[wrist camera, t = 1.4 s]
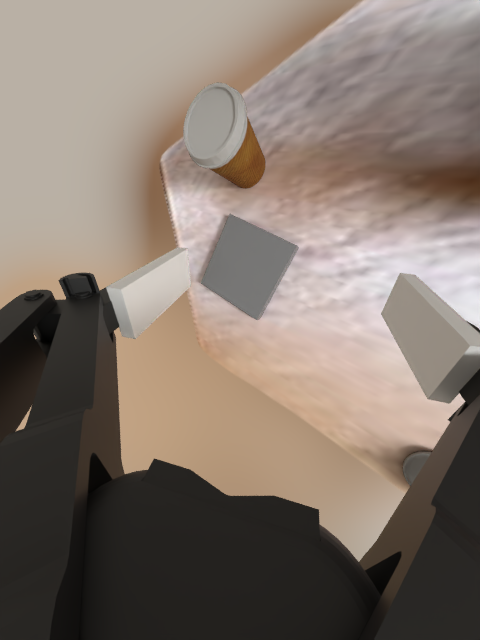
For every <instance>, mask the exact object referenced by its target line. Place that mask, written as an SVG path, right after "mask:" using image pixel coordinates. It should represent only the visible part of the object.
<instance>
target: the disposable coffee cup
mask: <svg viewBox="0 0 480 640" xmlns="http://www.w3.org/2000/svg"><path fill="white" fill-rule="evenodd" d="M184 141H185V145H186V147H187V150H188V151H189V154H190V156H191V158H192V160H193V161H194V162H195V163H196V164H197V165H199V166H201V167H203V168H209V169H211V170H212V171H214V172H216V173H217V174H219V175H221V176H223V177H224V178H226V179H228V180H229V181H231V182H233V183H234V184H236V185H238V186H239V187H241V188H250V187H252V186H254V185H255V184H256V183H257V182H258V181H259V180H260V179H261V177H262V175H263V173H264V170H265V158H264V156H263V153H262V151H261V148H260V146H259V143H258V141H257V139H256V136H255V134H254V131H253V129H252V126H251V124H250V122H249V119H248V117H247V110H246V105H245V102H244V100H243V97H242V95H241V94H240V93H239V92H238V91H237V90H236V89H234V88H232V87H229V86H228V85H227V84H225V83H214V84H211V85H208V86H207V87H205V88H204V89H203V90H201V91H200V92H199V93H198V94H197V96H196V97H195V99H194V100H193V102H192V103H191V105H190V107H189V109H188V112H187V115H186V118H185V122H184Z"/></svg>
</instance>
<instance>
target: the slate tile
mask: <svg viewBox="0 0 480 640" xmlns="http://www.w3.org/2000/svg"><path fill="white" fill-rule="evenodd" d="M298 248H299V247H298V246H297V245H294V244H292V243H290V242H288V241H286V240H284V239H282V238H280V237H278V236H276V235H273V234H271V233H269V232H267V231H265V230H263V229H261V228H259V227H257V226H255V225H253V224H250V223H248V222H246V221H244V220H242V219H240V218H238V217H236V216H234V215H232V214H230V215H229V217H228V219H227V222H226V224H225V226H224V229H223V231H222V234H221V236H220V238H219V241H218V243H217V246H216V248H215V250H214V253H213V255H212V258H211V260H210V262H209V265H208V267H207V270H206V272H205V274H204V277H203V279H202V282H201V284H203V285H204V286H206V287H207V288H209V289H210V290H212V291H214V292H215V293H217V294H218V295H220V296H221V297H223V298H224V299H226V300H227V301H229V302H230V303H232V304H233V305H235V306H236V307H238V308H239V309H241V310H242V311H244V312H245V313H247V314H248V315H250V316H251V317H253V318H254V319H256V320H258V319H260V318H261V316H262V314H263V312H264V310H265V309H266V307H267V305H268V303H269V301H270V299H271V298H272V296H273V294H274V292H275V290H276V288H277V287H278V285H279V283H280V281H281V279H282V277H283V276H284V274H285V272H286V270H287V268H288V266H289V265H290V263H291V261H292V259H293V257H294V255H295V254H296V252H297V250H298Z"/></svg>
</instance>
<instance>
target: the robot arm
mask: <svg viewBox="0 0 480 640" xmlns="http://www.w3.org/2000/svg"><path fill="white" fill-rule="evenodd" d="M59 282H60V285H61V287H62V289H63V291H64V294H65V296H66V300H55V298H54V296H53V294H52V292H51V291H49V290H32V291H28V292H26V293H24V294H21V295H19V296H18V297H16V298H15V299H13V300H12V301H11V302H10V303H8V304H7V305H6V306H4V307H3V308H2V309H1V310H0V640H480V330H479V329H478V328H477V327H476V326H474V325H473V324H471V323H469V322H467V321H465V320H464V319H463V318H462V317H461V316H460V315H459V314H458V313H457V312H455V311H454V310H453V309H452V308H451V307H450V306H449V305H448V304H447V303H446V302H444V301H443V300H442V299H441V298H440V297H439V296H438V295H437V294H436V293H434V292H433V291H432V290H431V289H430V288H429V287H428V286H427V285H426V284H425V283H423V282H422V281H421V280H420V279H419V278H418V277H417V276H416V275H412V274H403V273H400V274H399V276H398V279H397V281H396V283H395V285H394V287H393V289H392V291H391V294H390V296H389V298H388V300H387V302H386V304H385V307H384V309H383V311H382V313H381V315H382V317H383V318H384V320H385V322H386V324H387V326H388V327H389V329H390V331H391V333H392V335H393V337H394V338H395V340H396V342H397V344H398V346H399V348H400V349H401V351H402V353H403V355H404V357H405V359H406V360H407V362H408V364H409V366H410V368H411V370H412V371H413V373H414V375H415V377H416V379H417V381H418V382H419V384H420V386H421V388H422V390H423V391H424V393H425V395H426V397H427V399H430V400H435V401H440V402H445V403H451V401H452V400H453V399H454V398H455V397H456V396H457V395H458V394H459V393H460V394H461V396H462V397H463V399H464V400H465V403H464V404H463V405H462V406H461V407H460V408H459V409H458V410H457V411H456V412H455V413H454V414H453V415H452V416H451V417H450V418H449V419H448V420H449V421H450V424H449V425H448V427H447V428H446V430H445V432H444V433H443V435H442V436H441V438H440V440H439V441H438V443H437V445H436V446H435V448H434V449H433V451H432V453H431V454H430V456H429V457H428V459H427V461H426V462H425V464H424V465H423V467H422V469H421V470H420V472H419V473H418V475H417V477H416V478H415V480H414V481H413V483H412V485H411V486H410V488H409V489H408V491H407V493H406V494H405V496H404V497H403V499H402V501H401V502H400V504H399V505H398V507H397V509H396V510H395V512H394V514H393V515H392V517H391V518H390V520H389V522H388V524H387V525H386V526H385V528H384V530H383V531H382V533H381V534H380V536H379V538H378V539H377V541H376V542H375V543H374V545H373V546H372V547H371V548H370V549H369V551H368V552H367V553H366V554H365V555H364V556H363V558H362V559H361V560H360V562H358V561H357V560H356V559H355V557H354V556H353V555H352V554H351V552H350V551H349V550H348V549H347V548H346V547H345V546H344V545H343V544H342V543H341V542H340V541H339V540H338V539H337V538H336V537H335V536H334V535H332V534H331V533H330V532H329V531H328V530H327V529H325V528H324V527H322V526H321V525H320V524H319V510H318V509H315V508H312V507H309V506H305V505H302V504H299V503H296V502H293V501H289V500H286V499H283V498H279V497H276V496H228V495H226V494H224V493H222V492H221V491H220V490H218V489H217V488H215V487H214V486H212V485H211V484H210V483H208V482H207V481H205V480H204V479H203V478H201V477H200V476H198V475H197V474H195V473H194V472H193V471H191V470H189V469H186V468H183V467H180V466H176V465H173V464H170V463H167V462H164V461H161V460H157V459H154V460H153V462H152V463H151V465H150V467H149V469H148V470H142V471H136V472H132V473H129V474H124V470H123V466H122V461H121V444H120V422H119V402H118V401H119V400H118V378H117V357H116V337H115V334H114V330H116V329H117V328H118V327H119V328H120V331H121V334H122V336H123V337H128V338H133V339H136V338H137V337H138V336H139V335H140V334H141V333H142V332H143V331H144V330H145V329H146V328H148V327H149V326H150V325H151V324H152V323H153V322H154V321H155V320H156V319H157V318H158V317H159V316H160V315H161V314H162V313H163V312H164V311H165V310H166V309H167V308H168V307H169V306H170V305H171V304H173V303H174V302H175V301H176V300H177V298H179V297H180V296H181V295H182V294H183V293H184V292H185V291H186V290H187V289H188V288H189V287H190V286H191V280H190V270H189V259H188V249H186V248H175V249H174V250H172V251H170V252H168V253H166V254H165V255H163V256H161V257H159V258H157V259H156V260H154V261H152V262H150V263H148V264H147V265H145V266H143V267H141V268H139V269H138V270H136V271H134V272H132V273H131V274H129V275H127V276H125V277H123V278H122V279H120V280H118V281H116V282H114V283H113V284H111V285H109V286H107V287H106V288H104V289H102V290H100V291H99V288H98V285H97V283H96V280H95V277H94V275H93V274H91V273H76V274H71V275H67V276H65V277H63V278H61V279H60V280H59ZM33 333H34V334H33ZM34 335H35V336H36V338H37V339H35V337H34ZM32 404H33V405H32ZM31 406H32V408H31V411H30V414H29V417H28V420H27V423H26V426H25V428H24V429H22V430H19V431H16V429H17V428H18V426H19V425H20V423H21V422H22V420H23V418H24V417H25V415H26V414H27V412H28V411H29V409H30V407H31ZM15 431H16V432H15Z"/></svg>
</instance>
